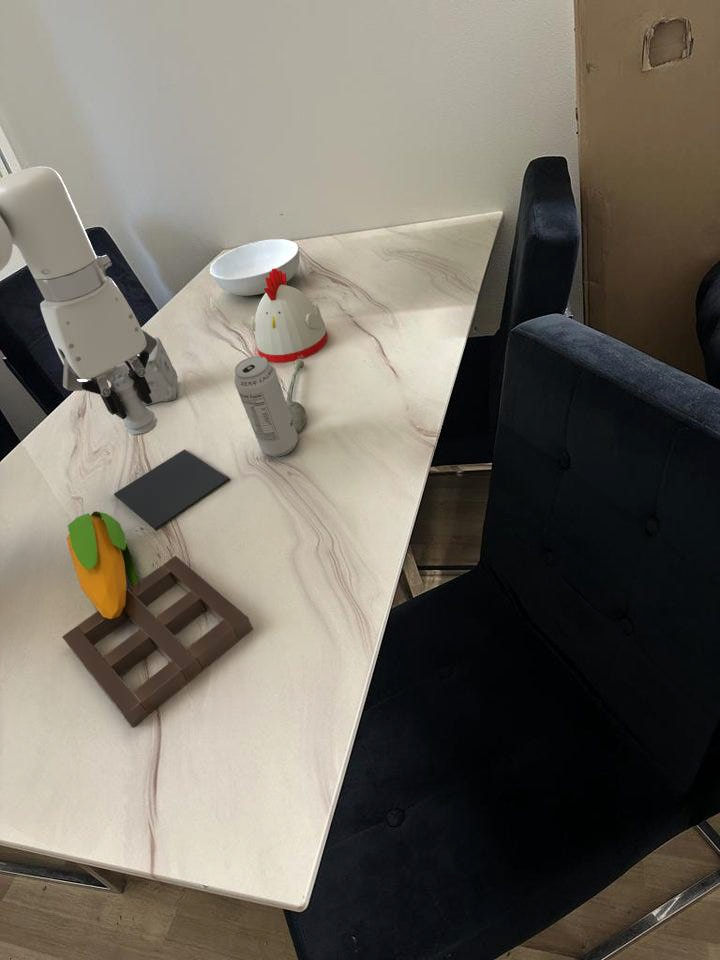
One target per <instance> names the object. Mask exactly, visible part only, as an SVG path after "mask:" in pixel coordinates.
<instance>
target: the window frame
mask: <svg viewBox="0 0 720 960" xmlns="http://www.w3.org/2000/svg"><path fill="white" fill-rule="evenodd" d="M176 584H177V585H178V586H179V587H180V588H181V589H183V591H185V592H186V594H185V595H184V596H182V597H180V599H178V600H177V601H176V602H174V603H173V604H172V605H170V606H169V607H168V608H166V609H165V610H163V611H162V612H161V613H159V614H158V615H157V616H156V615H155V614H154V613H153V612H152V611H151V610H150V609H149V608H148V607H147V606H148V605H149V604H151V603H152V602H153V601H154V600H156V599H157V598H159V597H160V596H161V595H163V594H164V593H165V592H167V591H168V590H169V589H171V588H172V587H174V586H175V585H176ZM138 588H139V590H138ZM206 611H207V612H208V613H209V614H210V615H211V616H212V617H213V618H214V619H216V620H217V621H218V623H217V624H216V625H215V626H214V627H212V628H211V629H210V630H208V631H207V632H206V633H205V634H204V635H202V636H201V637H200V638H198V639H197V640H196V641H194V642H193V643H192V644H191V645H190V646H188V647H187V646H185V644H183V643H182V641H180V639H178V637H176V634H177V633H178V632H180V631H181V630H182V629H184V628H185V627H186V626H188V625H189V624H190V623H192V622H193V621H194V620H195V619H197V617H199V616H200V615H202V614H203V613H204V612H206ZM127 620H130V622H131V623H132V624H134V626H135V627H136V628H137V629H138V630H136V632H134V633H133V634H132V635H130V636H128V638H125V640H123V641H122V642H121V643H120V644H118V645H117V646H116V647H114V648H113V649H112V650H110V651H109V652H107V653H106V654H105V655H102V654H101V653H100V651H99V650H98V649H97V648H96V646H94V645H95V644H96V643H97V642H99V641H100V640H101V639H103V638H104V637H106V636H107V635H108V634H109V633H111V632H112V631H114V630H115V629H116V628H118V627H119V626H120V625H122V624H123V623H124V622H126V621H127ZM252 630H254V627H253V626H252V624H251V622H250V618H249V617H248V616H247V614H245V613H244V612H243V611H242V610H240V609H239V607H237V606H236V605H235V604H233V603H232V602H231V601H230V600H229V599H227V597H225V596H224V595H223V594H221V593H220V592H219V591H218V590H217V589H216V588H215V587H213V586H212V585H211V584H210V583H208V582H207V581H206V580H205V578H203V577H202V576H200V574H198V573H197V572H196V571H195V570H194V569H192V568H191V567H190V566H189V565H188V564H187V563H186V562H184V561H183V560H182V559H181V558H180V557H178V556H177V555H174V556H173V557H171V558H170V559H169V560H167V561H166V562H164V563H163V564H162V565H160V566H159V567H158V568H157V569H155V570H153V571H152V572H151V573H149V574H148V575H146V576H145V577H144V578H142V579H140V580H138V583H137V584H135V585H134V586H132V587H129V588H128V589H126V599H125V606H124V608H123V610H122V612H121V614H120V616H118V617H115V618H112V619H109V618H105V617H103V616H102V615H101V614H100V612H99V611H98V610H97V611H96V612H94V613H93V614H91V615H90V616H89V617H87V618H86V619H84V620H83V621H82V622H80V623H79V624H78V625H76V626H75V627H73V628H72V629H70V630H69V631H68V632H66V633H65V634H64V635H62V639H63V640H64V642H65V643H66V645H67V646H68V647H69V648H70V649H71V651H72V652H73V653H74V655H75V657H77V658H78V660H79V661H80V662H81V664H82V665H83V666H84V668H85V669H86V671H88V673H89V674H90V675H91V677H92V678H93V679H94V681H95V682H96V683H97V684H98V686H99V687H100V688H101V690H102V691H103V692H104V693H105V695H106V696H107V697H108V699H109V700H110V701H111V703H112V704H113V705H114V707H115V708H116V709H117V711H119V713H120V714H121V715H122V717H123V718H124V719H125V721H126V722H127V723H128V724H129V726H130V727H131V728H134V727H135V726H136V725H138V724H139V723H140V722H141V721H142V720H143V719H145V718H146V717H148V716H149V714H151V713H152V712H154V711H155V710H156V709H157V708H159V706H161V705H162V704H163V703H164V702H165V701H167V700H168V699H169V698H170V697H172V696H173V695H174V694H175V693H176V692H178V691H179V690H180V689H181V688H183V687H184V686H185V685H186V684H187V683H189V682H191V680H192V679H194V678H195V677H196V676H197V675H198V674H200V673H201V672H202V671H203V670H204V669H206V668H208V666H210V665H211V664H212V663H213V662H214V661H216V660H217V659H218V658H219V657H220V656H221V655H223V654H224V653H225V652H226V651H228V650H229V649H230V648H232V646H233V645H235V644H236V643H237V642H238V641H239V640H241V639H242V638H244V637H245V636H246V635H247V634H248V633H249V632H251V631H252ZM156 649H157V651H158V652H159V653H161V654H162V656H163V657H164V658H165V659H166V660H167V661H168V663H167V664H166V665H164V666H163V667H162V668H161V669H159V670H158V671H157V672H156V673H154V674H153V675H152V676H151V677H148V679H147V680H146V681H144V682H143V683H142V684H140V685H139V686H138V687H136V689H134V690H133V691H131V690H130V688H129V687H128V686H127V685H126V683H125V682H124V681H123V679H122V678H121V677H122V676H123V675H125V673H127V672H128V671H130V670H131V669H132V668H133V667H135V666H136V665H137V664H139V663H140V662H141V661H142V660H144V659H145V658H146V657H147V656H149V655H150V654H152V653H153V652H154V651H155V650H156Z"/></svg>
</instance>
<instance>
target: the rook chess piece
mask: <svg viewBox="0 0 720 960" xmlns="http://www.w3.org/2000/svg"><path fill="white" fill-rule="evenodd" d="M122 375H123V377H121V376H120V374H119V375H116V376H117V378H118V379H116V380H115V378H112V379H111V381H110V382H109V384H110V386H109V387H110V388H111V390H112V391H114V392H115V393H116V394H117V396H118V398H119V400H120V402H121V404H122V406H123V408H124V410H125V412H126V414H127V416H126V418H125V419H124V421H123V423H124V426H125V427H124V428H126V432H127V433H128V434H129V435H132V436H143V435H146V434H148V433H150V432H152V431H153V430H154V429H155V428H156V427H157V425H158V421H159V419H158V417H157V416H156V414H155V412H154V411H153V409H150V408H149V407H148V405H146V406H145V405H144V404H143V403H142V401H141V400H140V398H139V397H138V395H137V389H134V387H133V384H134V380H133V379H132V378H130V377H129V376H128V374H127V375H126V374H122Z"/></svg>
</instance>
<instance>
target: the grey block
mask: <svg viewBox="0 0 720 960" xmlns="http://www.w3.org/2000/svg"><path fill="white" fill-rule="evenodd" d="M153 338H154V339H156V340H157V345H156V347H155V348H154V350H153V351H152V353H151V354H150V355H149V359H148V362H147V365H146V368H145V370H146V374H145V379H146V381H147V383H148V385H149V387H150V390H151V394H149V395H150V397H151V399H152V403H151V404H146V403H144V402H143V401H142V403H143V404H144V405H145V406H151V405H153V404H157V403H160V402H166V403H167V402H170V401H174V400H175V399H177V389H178V379H179V376H178V373H177V370H176V369H175V366H174V365H173V363H172V361H171V359H170V357H169V355H168V353H167V351H166V349H165V347H164V344H163V343H162V340H161V339H160V337H158V336H157V337H153ZM104 373H105V376H106V379H107V382H108V383H110V381H111V379H112V378H115V380H116V379H118V378H117V376H116V375H119V374H120V376H121V377H123V375H122V374H126V375H127V374H128V373H129V369H128V368H127V366H126V365H125V363H124V362H123V363H121V364H119V365H117V366H115V367H113V368H111V369H110V370H108V371H106V372H104Z"/></svg>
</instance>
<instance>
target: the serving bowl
mask: <svg viewBox="0 0 720 960" xmlns="http://www.w3.org/2000/svg"><path fill="white" fill-rule="evenodd" d="M300 259H301V256H300V248H299V244H297V243H296V242H294V241H293V240H289V239H283V238H282V239H281V238H279V239H278V238H277V239H265V240H259V241H255V242H250V243H247V244H243V245H241V246H238V247H235V248H233V249H231V250H228V251H227V252H225V253H223V254H222V255H220V256H218V257H217V258H216V259H214V261H213V262H212V263H211V265H210V267H209V273H210V275H211V277H212V280H213V281H214V283H216V285H217V286H218V287H219V288H220V289H222V290H223V291H225V292H227V293H229V294H232V295H236V296H246V297H247V296H255V295H261V294H265V293H266V292H265V290H264V288H268V287H267V283H266V279H265V278H270V277H269V272H272V269H275V268H277V271H280V270H281V271H282V273H286V280H287V283H288V282H289V281H290V280H291V279H292V278H293V277H294V276H295V274H296V273H297V271H298V269H299V266H300Z"/></svg>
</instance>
